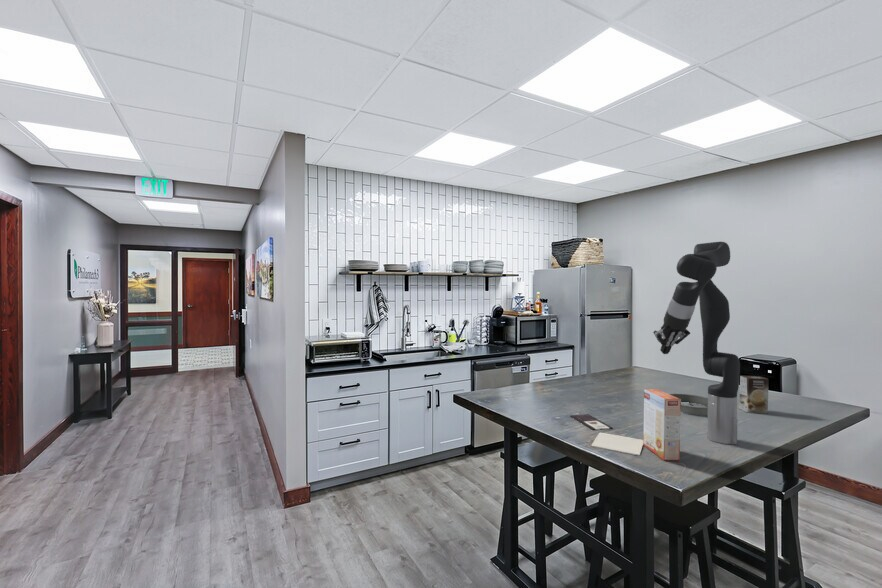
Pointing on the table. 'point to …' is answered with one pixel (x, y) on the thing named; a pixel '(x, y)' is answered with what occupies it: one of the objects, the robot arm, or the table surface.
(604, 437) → the mat
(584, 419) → the chocolate bar
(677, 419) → the cracker box
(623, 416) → the table surface
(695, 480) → the table surface
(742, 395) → the coffee box
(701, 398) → the cake pan
